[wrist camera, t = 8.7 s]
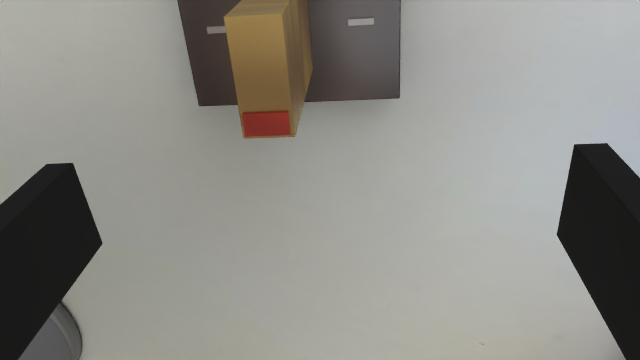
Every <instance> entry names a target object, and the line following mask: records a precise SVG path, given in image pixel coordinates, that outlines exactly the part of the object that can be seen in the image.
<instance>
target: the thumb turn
mask: <svg viewBox="0 0 640 360" xmlns="http://www.w3.org/2000/svg"><path fill="white" fill-rule="evenodd" d="M224 22H225V29H226V35H227V41H228V47H229V53H230V59H231V65H232V71H233V77H234V83H235V89H236V96H237V102H238V108H239V114H240V120H241V126H242V132H243V138H273V137H295V135H296V131H297V127H298V123H299V119H300V116H301V112H302V108H303V104H304V101H305V97H306V93H307V89H308V85H309V82H310V78H311V74H312V70H313V62H312V50H311V38H310V25H309V13H308V1H307V0H241V1H240V2H239V3H238V4H237V5H236V6H235V7H234V8H233V9H232V10H231V11H230V12H229V13H227V14H226V15H225V16H224Z"/></svg>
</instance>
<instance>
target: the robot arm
mask: <svg viewBox="0 0 640 360" xmlns="http://www.w3.org/2000/svg"><path fill="white" fill-rule="evenodd" d="M557 236H558V238H559V240H560V241H561V243H562V245H563V247H564V249H565V250H566V252H567V254H568V256H569V258H570V259H571V261H572V263H573V265H574V267H575V268H576V270H577V272H578V274H579V276H580V277H581V279H582V281H583V283H584V285H585V286H586V288H587V290H588V292H589V294H590V295H591V297H592V299H593V301H594V303H595V304H596V306H597V308H598V310H599V312H600V313H601V315H602V317H603V319H604V321H605V322H606V324H607V326H608V328H609V330H610V331H611V333H612V335H613V337H614V339H615V340H616V342H617V344H618V346H619V348H620V349H621V351H622V353H623V355H624V357H625V358H626V360H640V178H639V177H638V176H637V175H636V173H635V172H634V171H633V170H632V169H631V168H630V167H629V166H628V165H627V164H626V163H625V162H624V161H623V160H622V159H621V158H620V157H619V156H618V154H617V153H616V152H615V151H614V150H613V149H612V148H611V147H610V146H609V145H608V144H607V143H602V144H575V145H574V149H573V154H572V159H571V164H570V169H569V174H568V180H567V185H566V190H565V195H564V200H563V205H562V211H561V216H560V221H559V226H558V231H557ZM102 244H103V243H102V241H101V238H100V235H99V232H98V230H97V227H96V224H95V222H94V219H93V216H92V213H91V211H90V208H89V205H88V203H87V200H86V197H85V195H84V192H83V189H82V186H81V184H80V181H79V178H78V176H77V173H76V170H75V167H74V165H73V163H61V164H46V165H45V166H44V167H43V168H42V169H40V170H39V171H38V172H37V173H36V174H35V175H34V176H32V177H31V178H30V179H29V180H28V181H27V182H26V183H25V184H23V185H22V186H21V187H20V188H19V189H18V190H17V191H15V192H14V193H13V194H12V195H11V196H10V197H9V198H8V199H6V200H5V201H4V202H3V203H2V204H1V205H0V360H79V357H80V354H81V338H80V334H79V331H78V328H77V326H76V324H75V322H74V320H73V319H72V317H71V315H70V314H69V313H68V311H67V310H66V309H65V308H64V307H63V305H62V304H61V303H60V301H61V300H62V299H63V297H64V296H65V295H66V293H67V292H68V290H69V289H70V288H71V286H72V285H73V284H74V282H75V281H76V279H77V278H78V277H79V275H80V274H81V273H82V271H83V270H84V268H85V267H86V266H87V264H88V263H89V262H90V260H91V259H92V257H93V256H94V255H95V253H96V252H97V251H98V249H99V248H100V246H101V245H102Z"/></svg>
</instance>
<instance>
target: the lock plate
mask: <svg viewBox="0 0 640 360" xmlns="http://www.w3.org/2000/svg"><path fill="white" fill-rule="evenodd" d="M240 1H241V0H178V5H179V10H180V15H181V20H182V25H183V30H184V35H185V40H186V45H187V50H188V55H189V59H190V64H191V69H192V74H193V79H194V84H195V89H196V94H197V99H198V104H199V106H219V105H238V102H237V96H236V89H235V83H234V77H233V71H232V65H231V59H230V53H229V47H228V41H227V35H226V29H225V22H224V16H225V15H226V14H227V13H229V12H230V11H231V10H232V9H233V8H234V7H235V6H236V5H237V4H238V3H239V2H240ZM307 1H308V13H309V25H310V38H311V50H312V62H313V70H312V74H311V78H310V82H309V85H308V89H307V93H306V97H305V101H304V102H319V101H343V100H368V99H393V98H400V8H401V0H307Z"/></svg>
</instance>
